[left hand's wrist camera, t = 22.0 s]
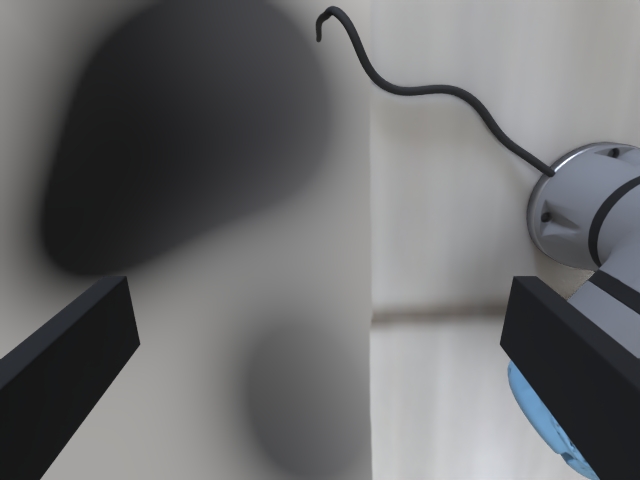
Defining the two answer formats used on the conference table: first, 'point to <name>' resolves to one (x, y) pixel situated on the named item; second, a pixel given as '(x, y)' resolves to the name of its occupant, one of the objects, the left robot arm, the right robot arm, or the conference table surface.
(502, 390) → the conference table surface
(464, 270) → the conference table surface
